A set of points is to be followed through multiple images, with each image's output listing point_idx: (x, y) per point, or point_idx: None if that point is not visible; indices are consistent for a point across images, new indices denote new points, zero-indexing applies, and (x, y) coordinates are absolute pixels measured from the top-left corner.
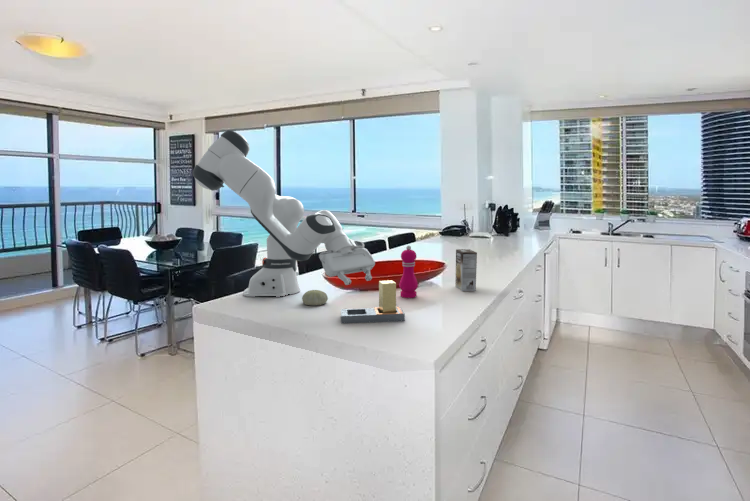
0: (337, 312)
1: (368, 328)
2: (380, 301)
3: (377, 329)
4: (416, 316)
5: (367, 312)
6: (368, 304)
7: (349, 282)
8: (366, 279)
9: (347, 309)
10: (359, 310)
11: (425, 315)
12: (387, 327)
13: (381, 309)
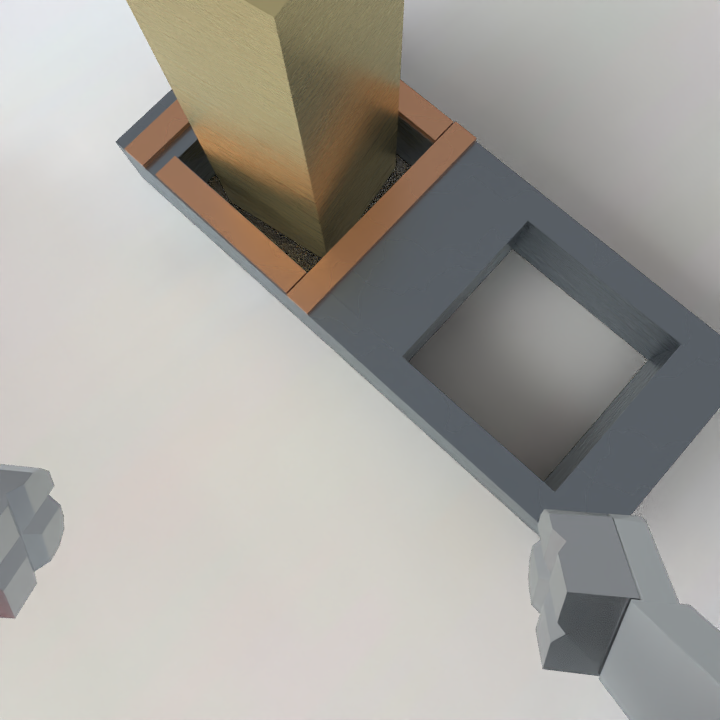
0: (492, 697)
1: (631, 121)
2: (347, 141)
3: (597, 57)
4: (120, 45)
5: (477, 254)
6: (36, 655)
7: (598, 514)
8: (45, 550)
9: (541, 495)
10: (446, 398)
11: (52, 11)
12: (506, 35)
13: (370, 155)
